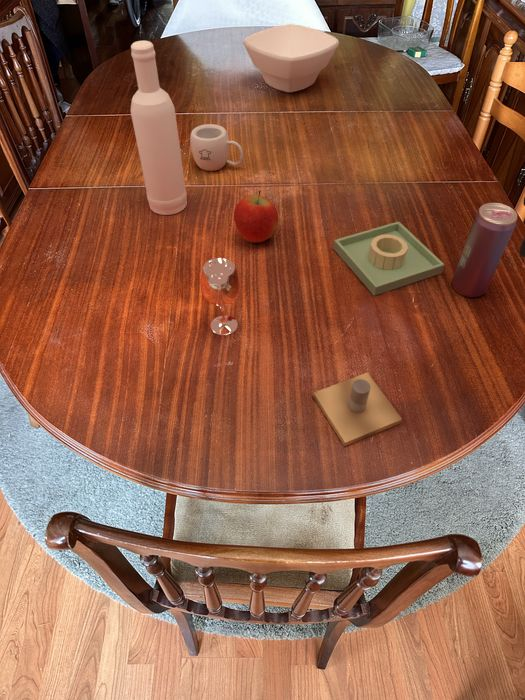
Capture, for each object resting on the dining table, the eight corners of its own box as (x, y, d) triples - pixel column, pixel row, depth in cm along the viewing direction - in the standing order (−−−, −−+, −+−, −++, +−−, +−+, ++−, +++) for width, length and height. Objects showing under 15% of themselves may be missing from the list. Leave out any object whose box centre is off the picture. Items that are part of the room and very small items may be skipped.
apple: (229, 231, 99) (226, 185, 91) (267, 222, 101) (267, 176, 93) (243, 255, 94) (241, 209, 86) (283, 245, 96) (285, 199, 88)
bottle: (149, 217, 102) (116, 54, 79) (148, 196, 107) (117, 37, 84) (189, 213, 103) (167, 51, 80) (186, 192, 108) (165, 34, 85)
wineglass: (221, 344, 80) (215, 287, 71) (199, 324, 83) (190, 267, 73) (249, 326, 82) (246, 269, 73) (226, 307, 85) (222, 250, 76)
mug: (187, 171, 113) (182, 137, 108) (201, 153, 119) (197, 120, 113) (237, 179, 111) (236, 145, 105) (249, 161, 116) (249, 127, 110)
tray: (396, 229, 99) (398, 221, 97) (441, 273, 90) (444, 264, 89) (333, 248, 95) (334, 240, 94) (373, 295, 87) (375, 287, 85)
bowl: (234, 84, 144) (232, 39, 135) (289, 64, 154) (291, 20, 145) (289, 110, 133) (291, 62, 125) (345, 86, 143) (350, 40, 134)
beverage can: (490, 299, 86) (524, 224, 75) (455, 298, 86) (483, 224, 75) (481, 275, 90) (511, 201, 79) (447, 275, 90) (473, 201, 79)
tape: (391, 244, 95) (394, 230, 93) (411, 264, 91) (414, 250, 89) (362, 253, 93) (364, 239, 91) (381, 273, 90) (383, 260, 87)
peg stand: (366, 376, 75) (372, 352, 71) (401, 423, 70) (409, 400, 66) (312, 396, 73) (315, 372, 69) (344, 446, 68) (349, 424, 63)
